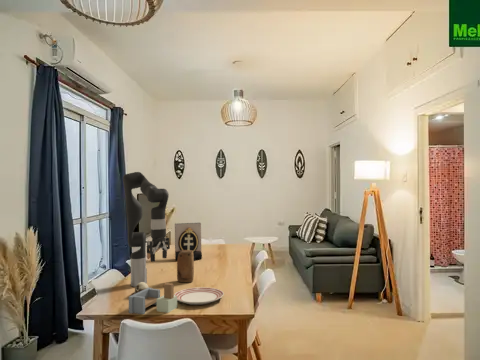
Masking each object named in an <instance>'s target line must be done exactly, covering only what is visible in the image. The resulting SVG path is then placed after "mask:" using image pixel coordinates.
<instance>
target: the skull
mask: <svg viewBox="0 0 480 360" xmlns="http://www.w3.org/2000/svg"><path fill="white" fill-rule="evenodd" d="M147 288H150V287H149V285H148V283H144V282H140V283H138V284H137V286H136V287H134V291H133V292H132V293H131V294H130V296H131V295H134V294H136V293H138V292H140V291H142V290H144V289H147Z"/></svg>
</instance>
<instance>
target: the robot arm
mask: <svg viewBox="0 0 480 360" xmlns="http://www.w3.org/2000/svg"><path fill="white" fill-rule="evenodd" d="M122 181H123V182H122V183H123V188H124V189H123V190H124V195H125V196H124V197H125V209H126V210H125V212H126V222H127V244H128V245H127V246H128V247H130V248H139V249H138V250H135V251H133V252H132V253H130V286H131V287H133V288H136V286H137V284H138V283H140V282H144V283H146V284H148V277H147V276H148V275H147V274H148V272H147V271H148V270H147V262H146V261H147V260H146V257H147V255H146V253H147V254H149V256H150V262H152V263H154V262H156V252H157V250H158V249H161V250H162V251H161V254H162V255H161V256H162V259H167V258H168V257H167V256H168V250H170V248H171V247H170V245H171V244H170V237H167V221H166V209H167V205H168V200H169V191H168V190H167V189H166V188H158V187H157V186H156V185H155V184H153V183H151V182H150V181H149V180H148V178H147V177H146V176H145V175H144V174H143V173H142V172H140V171H134V172H130V173H126V174H124V175H123V177H122ZM138 188H139V189H140V192H141V193H142V195H144V196H145V197H146V198H147V199H146V200H147V201H148V202H149V203H151V204H152V203H153V204H155V203H157V204H158V205H157V206H154V207H152V208H151V209H150V238H151V240H148V241H147V234H146V232H145V231H135V232H134V230H135V229H136V227H137V225H138V224H139V222H140V221H141V220H142V218H143V205H142V204H141V202H140V201H139V200H138V199H137V198H136V197H135V196H134V194H133V190H135V189H138Z"/></svg>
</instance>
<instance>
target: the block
mask: <svg viewBox="0 0 480 360" xmlns="http://www.w3.org/2000/svg"><path fill="white" fill-rule="evenodd" d="M194 273H195V260H194V255H193V251H192V250H181V251H180V252H179V254H178V259H177V261H176V279H177V282H179V283H180V282H181V283H192V282H193V281H194Z"/></svg>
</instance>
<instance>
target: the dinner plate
mask: <svg viewBox="0 0 480 360" xmlns="http://www.w3.org/2000/svg"><path fill="white" fill-rule="evenodd" d="M224 295H225V293H224V291H223V290H220V289H218V288H214V287H203V286H202V287H199V286H198V287H190V288H184V289H181V290H179V291H176V292H174V296H177V302H180V303H184V304H187V305H191V306H192V305H193V306H200V305H208V304H211V303H213V302H216V301H218V300H220V299H221V298H222V297H223V296H224Z"/></svg>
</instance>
